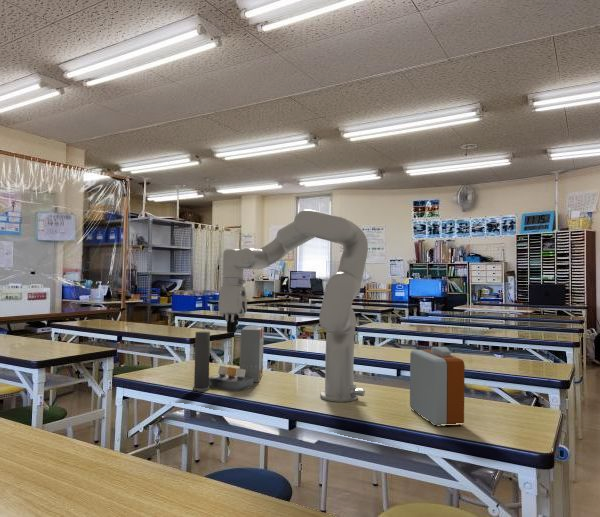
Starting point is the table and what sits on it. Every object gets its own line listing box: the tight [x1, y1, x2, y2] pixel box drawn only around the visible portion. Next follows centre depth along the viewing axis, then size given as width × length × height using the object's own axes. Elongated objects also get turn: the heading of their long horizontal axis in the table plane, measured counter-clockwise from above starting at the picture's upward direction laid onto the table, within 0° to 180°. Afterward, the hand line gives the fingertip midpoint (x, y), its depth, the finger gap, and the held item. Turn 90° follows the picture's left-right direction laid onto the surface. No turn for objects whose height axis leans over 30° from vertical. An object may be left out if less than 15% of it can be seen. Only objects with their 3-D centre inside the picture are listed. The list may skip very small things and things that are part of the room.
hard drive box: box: [239, 325, 265, 383], centre depth 184 cm, size 16×8×20 cm, turn 179°
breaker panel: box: [209, 374, 254, 392], centre depth 170 cm, size 14×9×3 cm, turn 62°
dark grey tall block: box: [192, 331, 211, 392], centre depth 165 cm, size 6×6×20 cm
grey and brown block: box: [409, 346, 466, 425], centre depth 137 cm, size 18×9×21 cm, turn 9°
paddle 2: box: [227, 366, 237, 378], centre depth 170 cm, size 2×3×4 cm, turn 152°
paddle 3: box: [217, 365, 229, 376], centre depth 172 cm, size 2×3×4 cm, turn 152°
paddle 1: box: [236, 367, 246, 379], centre depth 168 cm, size 2×3×4 cm, turn 151°
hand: (231, 332), depth 170 cm, fingers closed
